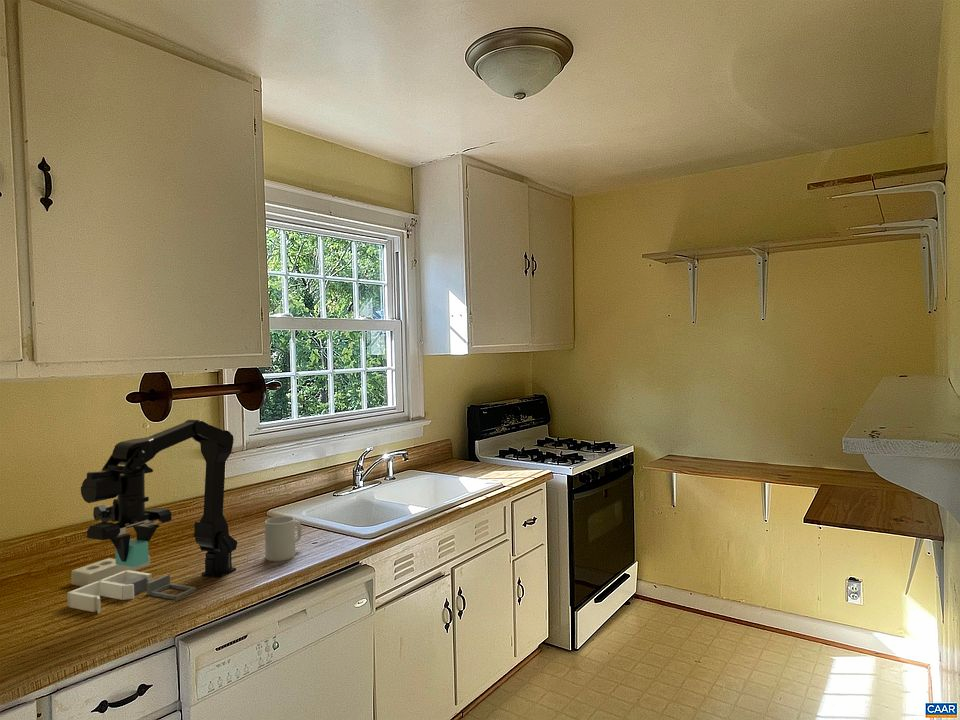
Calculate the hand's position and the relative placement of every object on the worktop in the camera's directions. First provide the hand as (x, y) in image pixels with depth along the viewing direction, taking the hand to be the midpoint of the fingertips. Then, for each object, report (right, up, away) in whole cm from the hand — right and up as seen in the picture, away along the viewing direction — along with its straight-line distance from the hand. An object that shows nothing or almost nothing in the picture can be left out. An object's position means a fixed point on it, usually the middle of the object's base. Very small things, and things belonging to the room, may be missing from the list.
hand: (132, 558), depth 147 cm
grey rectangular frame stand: (+6, -12, +9) cm, 16 cm away
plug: (0, -1, 0) cm, 1 cm away
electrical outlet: (-19, -12, +23) cm, 32 cm away
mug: (+25, -11, +37) cm, 46 cm away
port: (-9, -12, +7) cm, 17 cm away
